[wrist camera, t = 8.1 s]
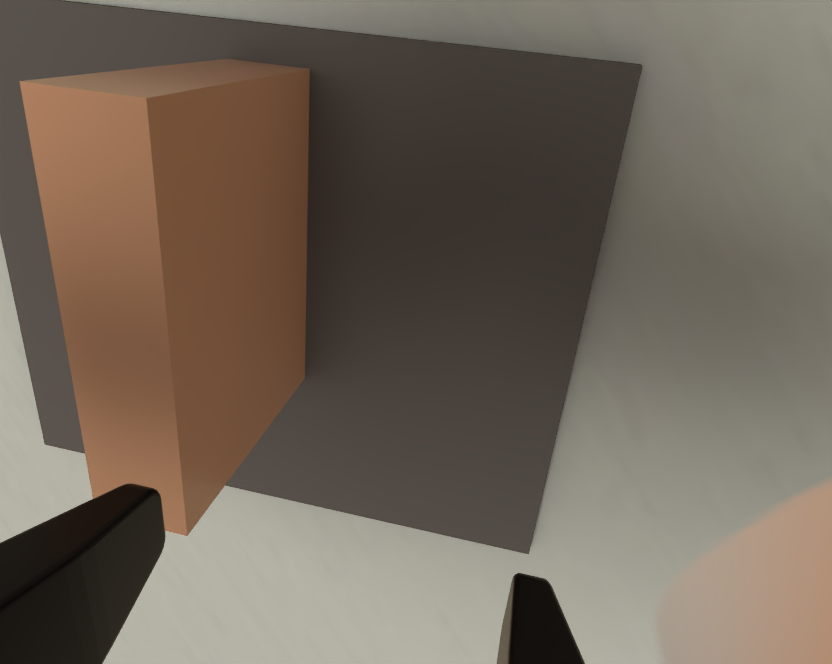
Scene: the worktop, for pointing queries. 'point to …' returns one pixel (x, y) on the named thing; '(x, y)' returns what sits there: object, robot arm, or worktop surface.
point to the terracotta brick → (176, 263)
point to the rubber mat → (378, 254)
